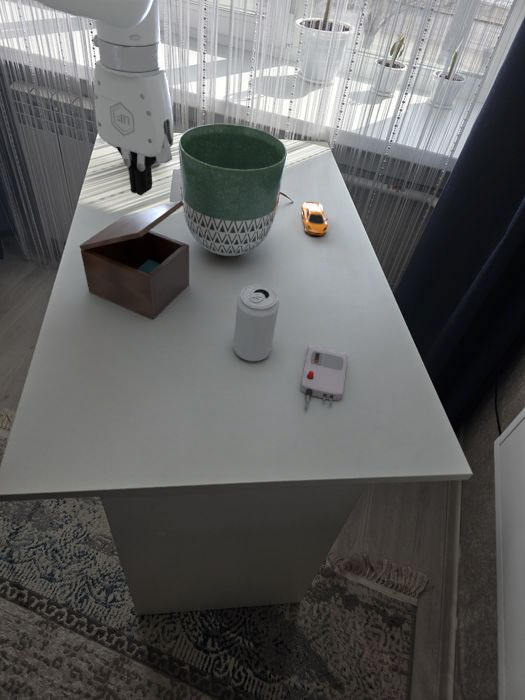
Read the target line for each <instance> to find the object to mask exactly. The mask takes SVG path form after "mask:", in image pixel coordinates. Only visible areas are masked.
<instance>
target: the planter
mask: <svg viewBox="0 0 525 700" xmlns="http://www.w3.org/2000/svg"><path fill="white" fill-rule="evenodd" d="M178 158H179V172H180V185H181V187H180V188H181V197H182V199H181V200H182V202H183V204H184V205H183V206H182V208H183V209H182V210H183V215H184V219H185V222H186V226H187V228H188V230H189V232H190V234H191V236H192V237H193V238H194V240H195V241H196V242H197V243H198V244H199V245H200V246H201V247H203V248H204V249H205V250H207V251H209V252H211V253H212V254H215V255H219V256H223V257H224V256H225V257H236V256H241V255H244V254H247V253H249V252H251V251H253V250H254V249H256V248H257V247H258V246H260V244H262V243H263V241H265V239H266V237H267V236H268V234H269V232H270V230H271V228H272V226H273V223H274V219H275V217H276V212H277V208H278V203H279V198H280V194H281V187H282V183H283V179H284V174H285V170H286V165H287V160H288V159H287V158H288V148H287V147H286V145H285V144H284V142H283V141H281V139H279V138H278V137H276V136H275V135H273V134H271V133H270V132H267V131H265V130H262V129H258V128H256V127H252V126H248V125H242V124H236V123H235V124H233V123H210V124H203V125H198V126H194V127H192V128H190V129H188V130H186V131H184V132H183V133H182V134H181V135H180V137H179V139H178Z"/></svg>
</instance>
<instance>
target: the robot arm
mask: <svg viewBox="0 0 525 700" xmlns="http://www.w3.org/2000/svg"><path fill="white" fill-rule="evenodd" d="M33 1H34V2H38V3H39V4H41V5H43V6H45V7H46V8H50V9H52V10H54V11H59V12H62V13H65V14H69V15H72V16H75V17H80V18H84V19H87V20H91V21H94V22H95V31H96V34H95V35H93V39H92V43H93V46H94V47H96V48H98V53H99V54H98V55H99V59H98V60H97V61H96V62H95V66H94V77H93V84H94V85H93V96H94V99H93V100H94V112H95V122H96V128H97V134H98V136H99V138H101V140H102V141H104V142H105V143H106V144H108V145H109V146H111V147H113V148H114V149H116V150H117V151H118V152H119V154H120V155H121V157H122V161H123V164H124V166H126V167H128V178H129V186H130V192H131V193H133V194H137V195H138V196H143V195H145V194H146V193H147V192H149V191H150V190H152V188H153V172H152V171H153V170H152V168H151V166H152V165H154V164H155V163H156V162H157V163H161V164H167V163H169V162H171V161H172V160H173V155H172V150H171V147H173V145H174V118H173V108H172V101H171V100H172V99H171V93H170V88H169V83H168V78H167V75H166V71H165V70H163V69H162V51H161V25H160V3H159V0H33Z"/></svg>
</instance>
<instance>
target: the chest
mask: <svg viewBox="0 0 525 700" xmlns="http://www.w3.org/2000/svg"><path fill="white" fill-rule="evenodd" d="M80 255H81V260H82V265H83V269H84V274H85V281H86V284H87V289H88V292H89V293H91V294H93V295H95V296H98V297H100V298H102V299H104V300H106V301H109V302H111V303H113V304H116V305H118V306H121V307H122V308H125V309H127V310H130V311H132V312H134V313H137V314H138V315H141V316H142V317H145V318H148V319H150V320H152V321H153V320H155V319H156V318H157V317H158V316H159V315H160V314H161V313H162V312H163V311H164V310H165V309H166V308H167V307H168V305H170V304H171V303H172V302H173V301H174V300H175V299H176V298H177V297H178V296H179V295H180V294H181V293H182V292H183V291H184V290H185V289H186V288H188V287H189V285H190V244H188V243H185V242H183V241H180V240H177V239H174V238H172V237H169V236H167V235H164V234H161V233H159V232H157V231H154V230H152V229H151V230H150V231H148V232H147V233H146V234H144V235H143V236H142V237H139V238H134V239H130V240H125V241H121V242H116V243H112V244H107V245H103V246H98V247H94V248H89V249H85V250H81V249H80ZM147 260H152V261H154V262H157V263H159V264H160V265H159V266H158V267H157V268H156V269H155V270H153V271H152V272H151V273H150V274H149V275H148V274H146V273H143V272H141V271H138V270H136V269H138V268H139V267H140V266H141V265H143V264H144V263H145V262H146V261H147Z"/></svg>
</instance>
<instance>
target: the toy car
mask: <svg viewBox="0 0 525 700" xmlns="http://www.w3.org/2000/svg"><path fill="white" fill-rule="evenodd" d="M301 216H302V219H303V226H304V232H306V233H307V234H308V235H311V236H317V237H322V236H325V235H326V234H327V231H328V228H329V225H328V223H327V221H328V220H329V218H328V217H326V218H325V210H324V206H323V205H322V204H321V203H319V202H314V201H313V202H312V201H305V202H303V203H302V205H301Z"/></svg>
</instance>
